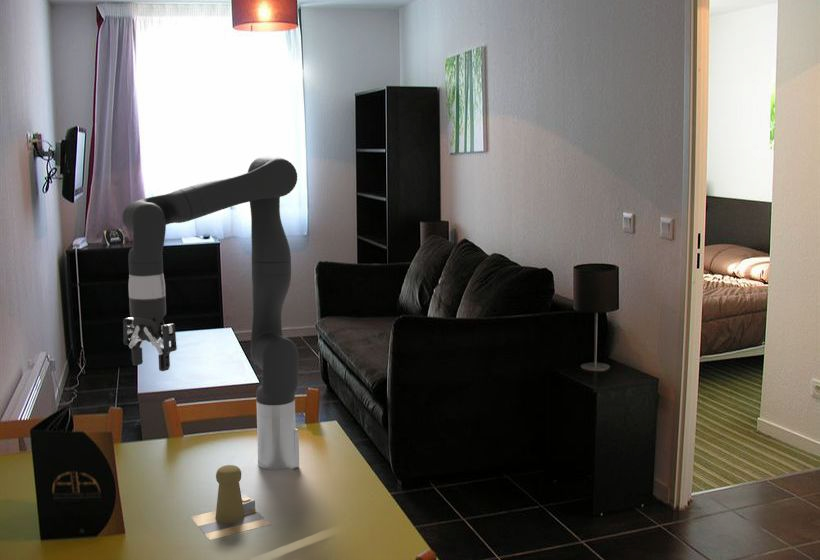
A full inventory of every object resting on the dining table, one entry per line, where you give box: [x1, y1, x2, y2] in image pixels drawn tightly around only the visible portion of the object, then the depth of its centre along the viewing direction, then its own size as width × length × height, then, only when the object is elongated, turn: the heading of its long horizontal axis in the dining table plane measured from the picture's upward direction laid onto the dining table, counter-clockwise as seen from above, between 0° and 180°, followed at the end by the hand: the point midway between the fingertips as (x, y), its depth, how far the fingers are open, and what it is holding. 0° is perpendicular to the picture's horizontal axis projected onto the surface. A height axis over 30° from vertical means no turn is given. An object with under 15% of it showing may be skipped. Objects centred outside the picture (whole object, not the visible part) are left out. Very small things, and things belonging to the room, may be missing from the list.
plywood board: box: [190, 508, 272, 541], centre depth 173 cm, size 13×12×1 cm
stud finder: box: [241, 492, 256, 513], centre depth 179 cm, size 3×5×2 cm, turn 43°
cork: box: [215, 464, 245, 524], centre depth 174 cm, size 6×6×11 cm
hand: (150, 367), depth 182 cm, fingers open, 8 cm apart
